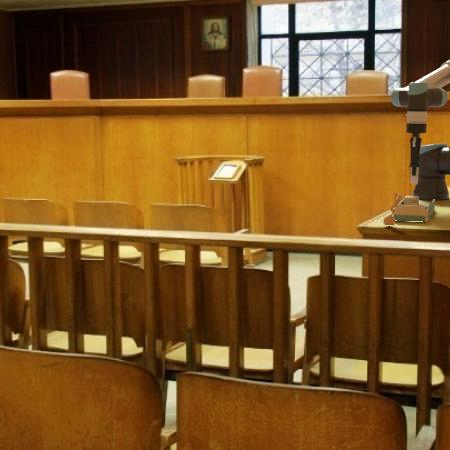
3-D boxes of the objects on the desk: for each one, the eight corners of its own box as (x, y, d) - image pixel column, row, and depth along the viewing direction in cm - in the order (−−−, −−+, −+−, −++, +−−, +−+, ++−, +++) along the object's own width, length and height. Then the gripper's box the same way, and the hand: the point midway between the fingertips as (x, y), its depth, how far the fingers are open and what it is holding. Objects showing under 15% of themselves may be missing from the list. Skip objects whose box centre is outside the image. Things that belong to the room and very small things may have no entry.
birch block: (405, 204, 299) (405, 195, 299) (418, 204, 298) (419, 196, 297) (403, 205, 295) (404, 197, 294) (417, 206, 293) (417, 197, 293)
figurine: (385, 224, 268) (386, 190, 266) (402, 225, 266) (404, 190, 264) (381, 228, 261) (382, 193, 259) (399, 229, 259) (400, 193, 256)
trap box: (404, 209, 302) (404, 194, 301) (434, 210, 298) (435, 195, 297) (393, 221, 275) (393, 204, 274) (426, 223, 271) (427, 206, 270)
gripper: (408, 122, 306) (406, 181, 310) (404, 123, 294) (401, 185, 298) (428, 122, 304) (425, 182, 307) (424, 123, 292) (421, 186, 295)
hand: (413, 183), depth 303 cm, fingers closed
